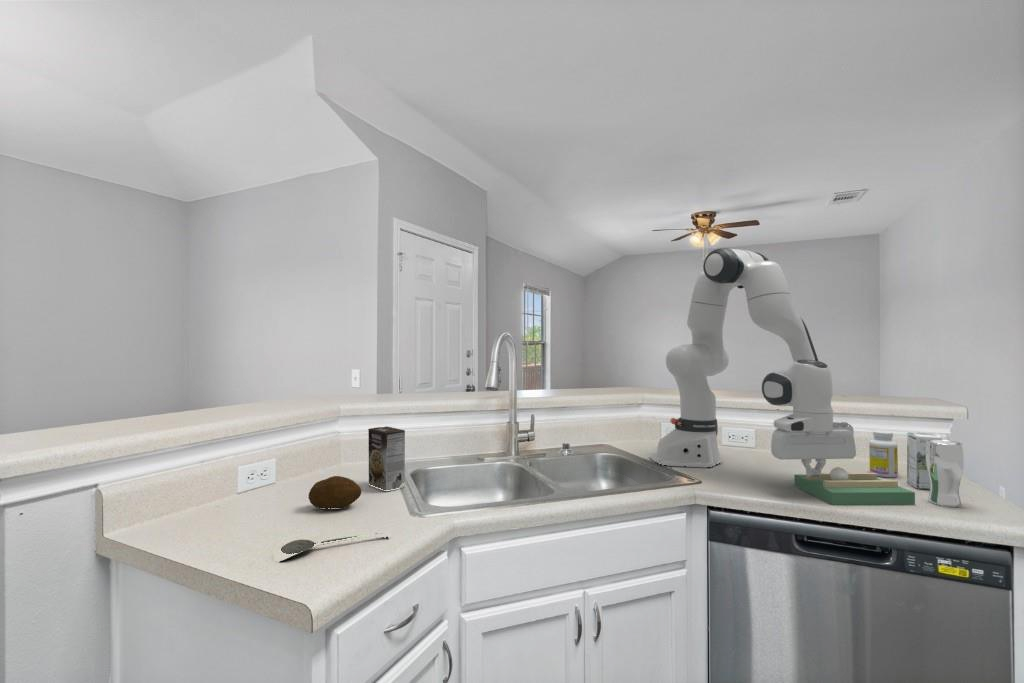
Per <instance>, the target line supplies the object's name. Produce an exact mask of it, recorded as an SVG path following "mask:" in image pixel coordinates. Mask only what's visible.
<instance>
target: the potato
mask: <svg viewBox="0 0 1024 683" xmlns="http://www.w3.org/2000/svg"><path fill="white" fill-rule="evenodd" d="M361 488H362V487H361V486H360V485H358V483H357V482H355V481H354V480H352V479H350V478H348V477H346V476H342V475H341V476H340V475H334V476H330V477H328V478H325V479H321V480H319V481H317V482H315V483H314V484H313V485H312V486H311V488H310V489H309V490H310V491H309V492H308V497H307V498H308V500H309V502H310V504H311V505H312V506H314V507H316V508H317V507H318V508H317V509H320V508H325V509H324V510H332V509H331V508H342V509H345V508H347V507H348V506H349V507H350V506H351V505H352V504H353V503H355V502H356V501H357V500H358V499H359V498H360V497H361V496H362V495H361V494H362V489H361ZM344 507H345V508H344ZM328 508H330V509H328Z"/></svg>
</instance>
